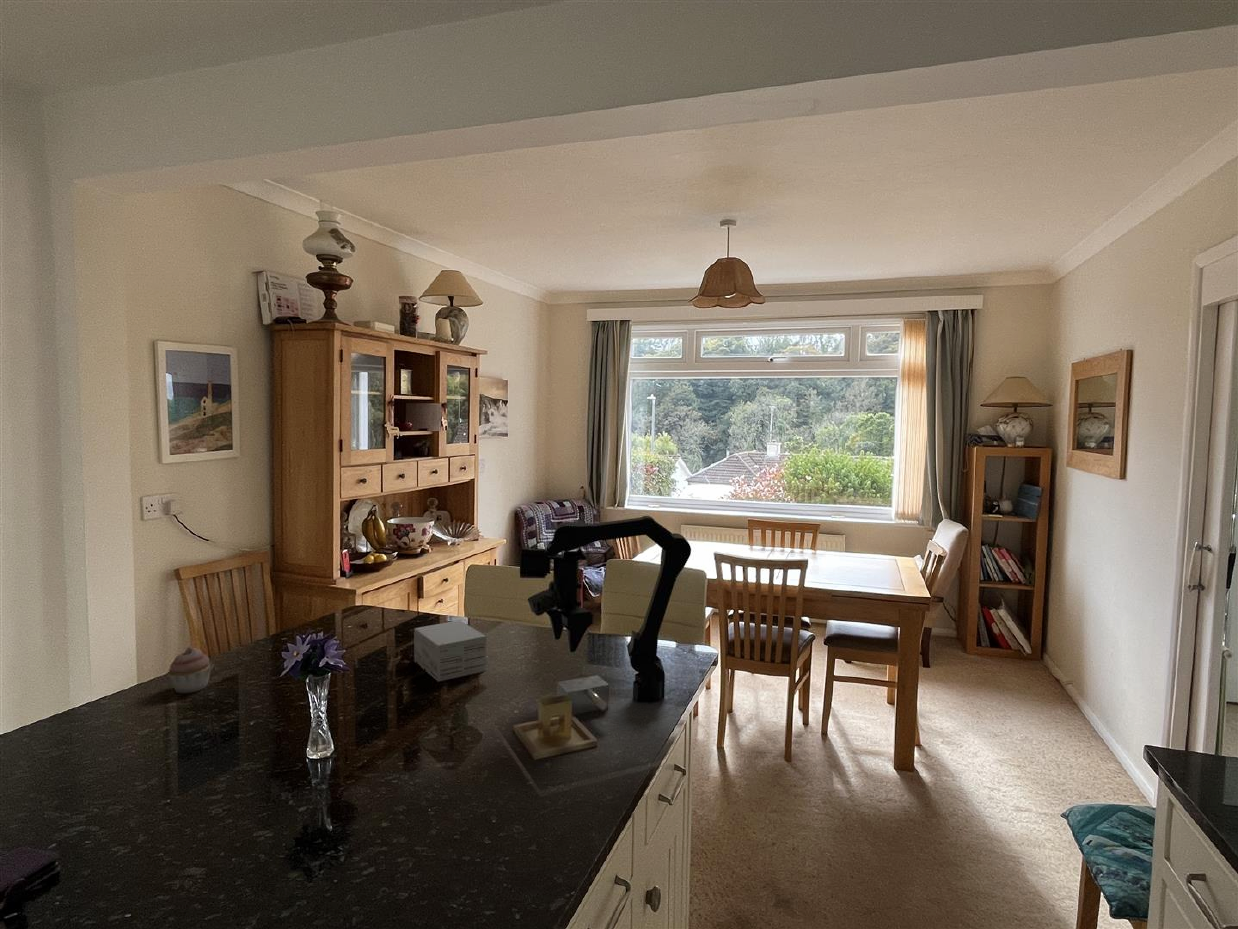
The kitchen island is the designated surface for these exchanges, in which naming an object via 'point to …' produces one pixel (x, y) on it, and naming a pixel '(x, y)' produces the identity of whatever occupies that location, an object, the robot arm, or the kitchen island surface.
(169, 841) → the kitchen island surface
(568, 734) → the wooden block
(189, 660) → the cupcake
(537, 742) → the tray
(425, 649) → the supplement box
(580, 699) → the vise block
